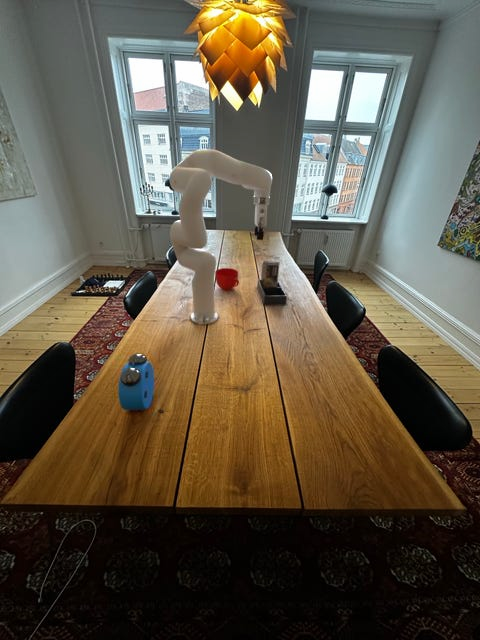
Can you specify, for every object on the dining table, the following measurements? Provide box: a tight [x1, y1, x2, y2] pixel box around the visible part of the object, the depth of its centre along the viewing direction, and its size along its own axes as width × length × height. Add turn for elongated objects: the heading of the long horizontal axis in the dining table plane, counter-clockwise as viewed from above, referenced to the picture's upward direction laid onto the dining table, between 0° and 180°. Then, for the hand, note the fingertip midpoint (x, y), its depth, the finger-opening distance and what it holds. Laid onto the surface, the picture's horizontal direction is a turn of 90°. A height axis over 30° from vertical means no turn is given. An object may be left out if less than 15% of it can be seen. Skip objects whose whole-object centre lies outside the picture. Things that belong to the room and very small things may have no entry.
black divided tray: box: [256, 278, 288, 306], centre depth 141 cm, size 23×12×5 cm, turn 5°
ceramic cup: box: [214, 267, 240, 291], centre depth 145 cm, size 13×17×10 cm
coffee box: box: [260, 260, 281, 287], centre depth 143 cm, size 9×6×16 cm
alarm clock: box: [118, 352, 155, 413], centre depth 72 cm, size 13×6×15 cm, turn 4°
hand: (258, 237), depth 132 cm, fingers open, 9 cm apart
